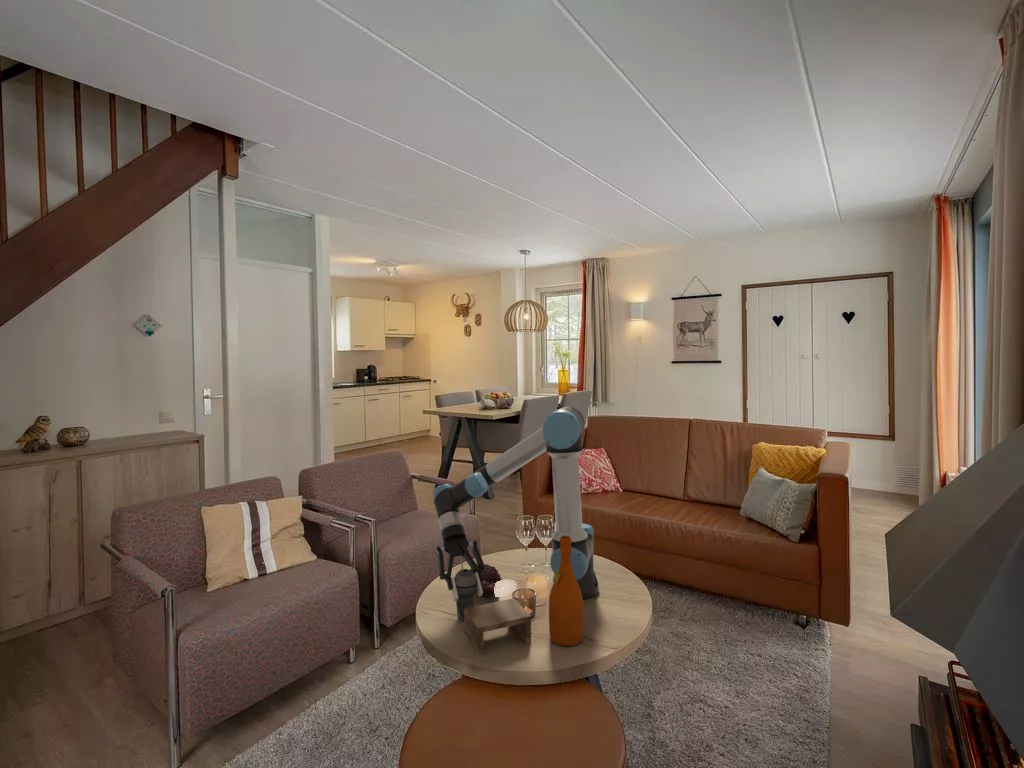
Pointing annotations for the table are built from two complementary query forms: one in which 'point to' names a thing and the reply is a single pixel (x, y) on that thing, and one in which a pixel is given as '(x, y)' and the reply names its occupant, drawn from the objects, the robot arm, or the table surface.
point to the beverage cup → (464, 590)
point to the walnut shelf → (495, 621)
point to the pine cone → (488, 580)
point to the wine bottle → (565, 601)
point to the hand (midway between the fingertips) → (468, 597)
